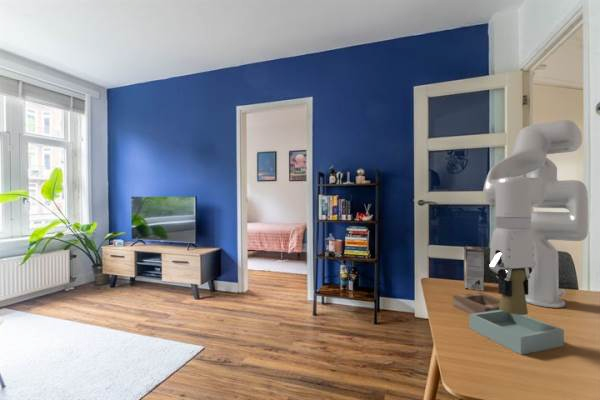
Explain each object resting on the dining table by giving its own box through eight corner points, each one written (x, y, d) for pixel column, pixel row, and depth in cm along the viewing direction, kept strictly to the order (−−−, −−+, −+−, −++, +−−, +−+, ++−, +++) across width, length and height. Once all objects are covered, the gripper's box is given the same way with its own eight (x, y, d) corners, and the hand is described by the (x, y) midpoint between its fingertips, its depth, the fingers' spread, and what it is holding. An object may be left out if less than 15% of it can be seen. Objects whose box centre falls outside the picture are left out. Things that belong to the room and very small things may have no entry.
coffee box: (463, 283, 122) (463, 245, 122) (481, 285, 120) (481, 246, 120) (465, 289, 114) (465, 249, 114) (484, 291, 111) (484, 250, 111)
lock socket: (480, 302, 99) (480, 292, 99) (515, 315, 87) (515, 304, 87) (452, 306, 96) (452, 295, 96) (484, 320, 84) (484, 308, 84)
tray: (507, 322, 83) (507, 308, 83) (563, 346, 69) (563, 329, 69) (469, 328, 79) (469, 314, 79) (520, 354, 65) (520, 337, 65)
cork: (533, 315, 70) (533, 271, 70) (505, 313, 72) (505, 270, 72) (519, 307, 76) (519, 266, 76) (494, 305, 77) (494, 264, 78)
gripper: (522, 222, 80) (522, 287, 80) (474, 223, 75) (474, 292, 75) (552, 224, 73) (552, 295, 73) (501, 226, 68) (502, 302, 68)
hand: (513, 293), depth 74 cm, fingers closed on cork, 4 cm apart
